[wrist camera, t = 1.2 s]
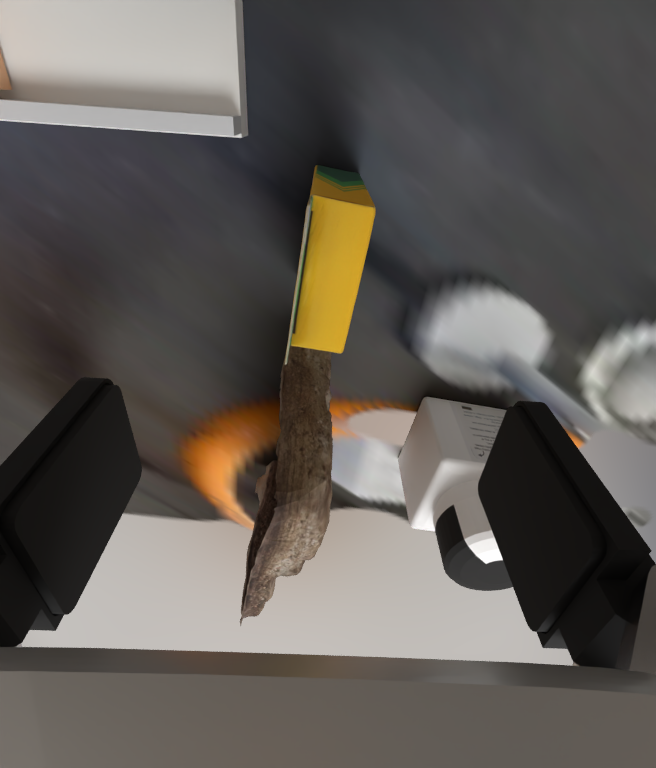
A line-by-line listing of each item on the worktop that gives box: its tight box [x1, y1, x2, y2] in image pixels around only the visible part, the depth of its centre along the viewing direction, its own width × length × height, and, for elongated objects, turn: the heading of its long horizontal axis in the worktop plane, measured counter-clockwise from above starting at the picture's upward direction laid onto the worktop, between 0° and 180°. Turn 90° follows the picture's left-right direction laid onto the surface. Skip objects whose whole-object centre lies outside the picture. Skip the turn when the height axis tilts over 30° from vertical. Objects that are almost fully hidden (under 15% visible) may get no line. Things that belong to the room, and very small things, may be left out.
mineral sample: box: [240, 345, 333, 624], centre depth 29 cm, size 17×4×15 cm, turn 166°
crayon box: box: [285, 165, 375, 364], centre depth 22 cm, size 7×3×12 cm, turn 170°
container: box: [398, 397, 513, 591], centre depth 31 cm, size 8×8×13 cm
